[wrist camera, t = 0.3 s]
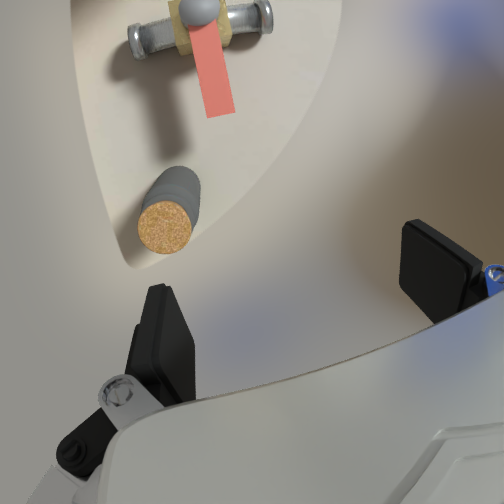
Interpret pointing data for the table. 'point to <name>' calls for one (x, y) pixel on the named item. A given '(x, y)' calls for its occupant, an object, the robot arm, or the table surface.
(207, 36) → the lever
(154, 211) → the bottle
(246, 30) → the valve body
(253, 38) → the table surface
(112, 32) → the table surface
